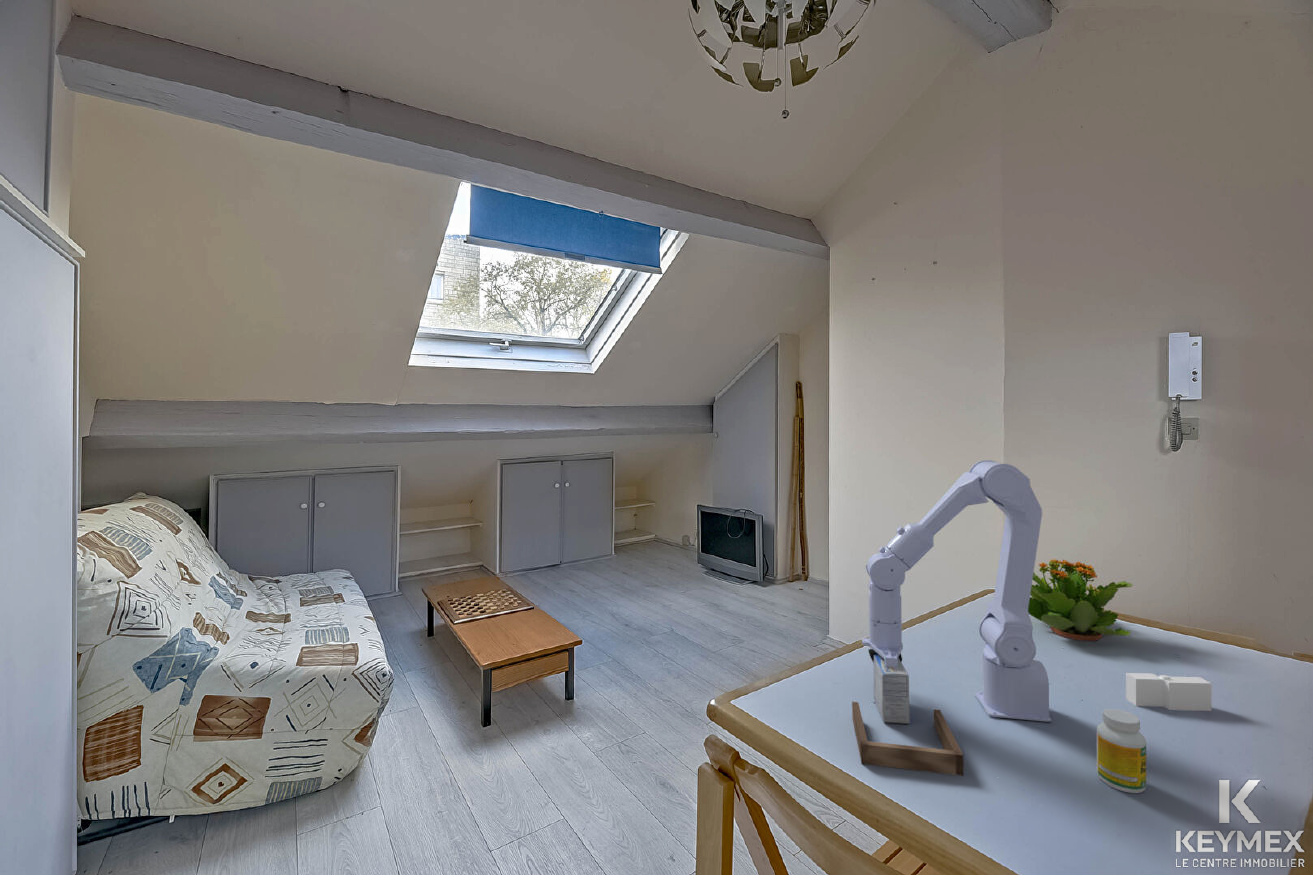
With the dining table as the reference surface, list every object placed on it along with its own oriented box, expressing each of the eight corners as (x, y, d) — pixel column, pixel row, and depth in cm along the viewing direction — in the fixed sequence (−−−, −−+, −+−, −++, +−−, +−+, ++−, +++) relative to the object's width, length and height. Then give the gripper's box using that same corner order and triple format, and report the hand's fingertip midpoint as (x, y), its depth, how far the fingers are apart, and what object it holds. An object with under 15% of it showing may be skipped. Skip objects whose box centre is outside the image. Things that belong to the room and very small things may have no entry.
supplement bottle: (1094, 765, 81) (1094, 702, 81) (1142, 777, 79) (1142, 711, 78) (1099, 786, 77) (1099, 718, 77) (1150, 799, 74) (1150, 729, 74)
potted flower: (1174, 656, 118) (1174, 575, 117) (1063, 658, 118) (1062, 577, 117) (1085, 615, 143) (1085, 548, 142) (993, 617, 143) (992, 550, 142)
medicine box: (909, 725, 93) (910, 675, 93) (882, 722, 94) (882, 673, 94) (898, 701, 101) (898, 655, 101) (872, 699, 102) (873, 653, 102)
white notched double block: (1221, 707, 98) (1221, 675, 97) (1224, 735, 89) (1225, 700, 89) (1111, 681, 108) (1111, 653, 108) (1106, 704, 100) (1106, 672, 100)
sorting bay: (940, 727, 92) (940, 709, 92) (963, 775, 80) (963, 755, 80) (852, 718, 96) (852, 701, 96) (861, 763, 83) (861, 743, 83)
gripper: (858, 604, 111) (858, 670, 111) (867, 631, 97) (867, 707, 97) (895, 606, 109) (895, 674, 110) (910, 634, 95) (910, 711, 96)
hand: (885, 690), depth 103 cm, fingers closed
